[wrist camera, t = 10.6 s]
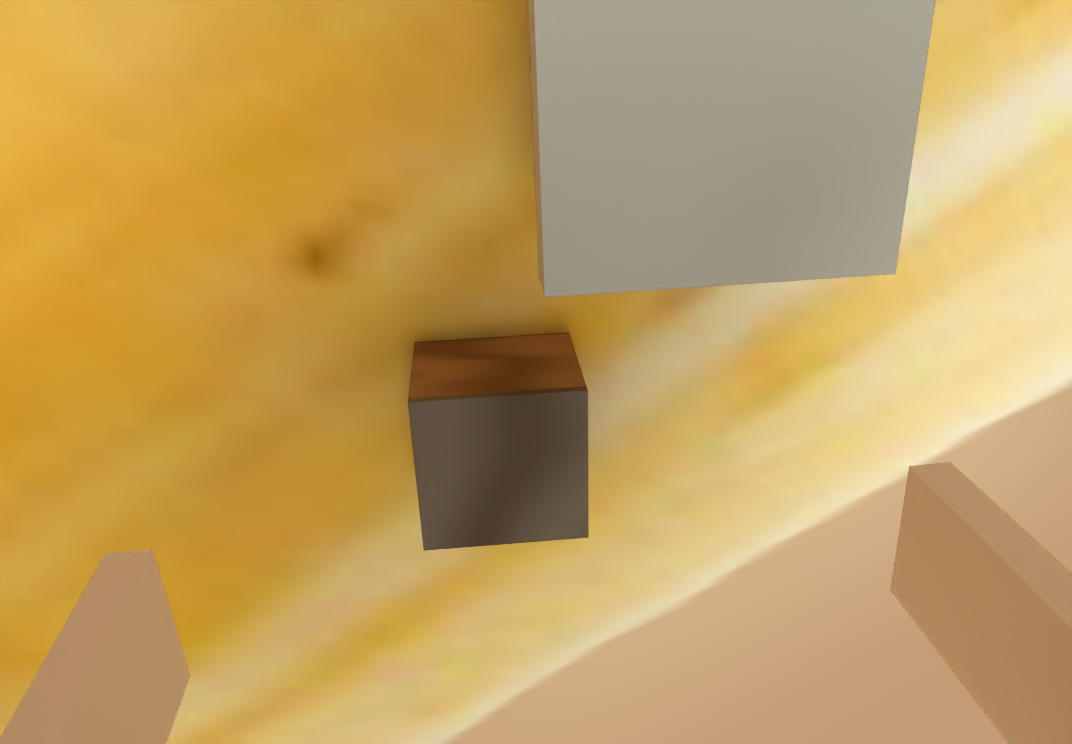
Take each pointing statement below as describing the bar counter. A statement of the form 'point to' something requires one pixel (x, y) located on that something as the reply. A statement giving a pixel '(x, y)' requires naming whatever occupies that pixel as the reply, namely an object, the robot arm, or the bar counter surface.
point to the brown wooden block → (499, 440)
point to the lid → (722, 139)
